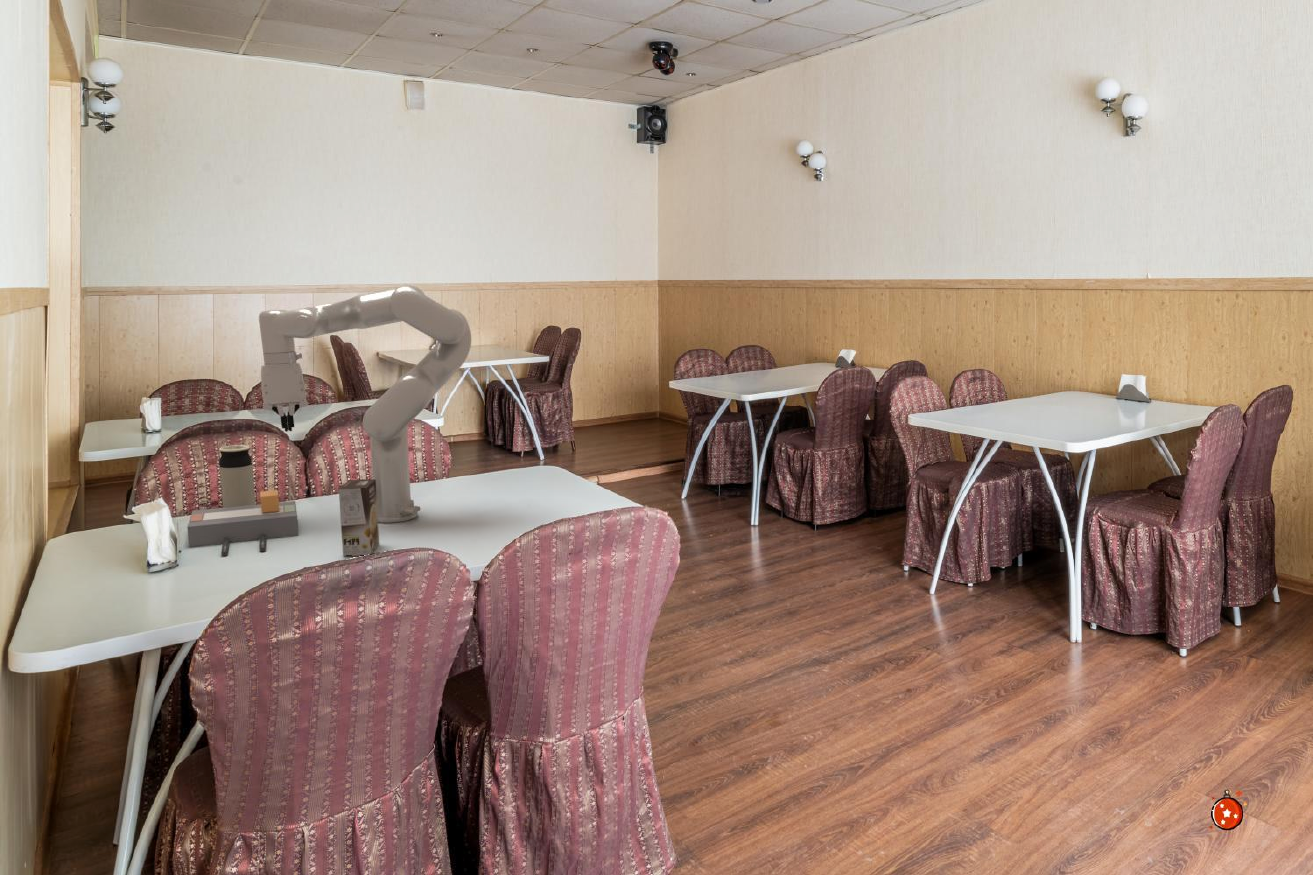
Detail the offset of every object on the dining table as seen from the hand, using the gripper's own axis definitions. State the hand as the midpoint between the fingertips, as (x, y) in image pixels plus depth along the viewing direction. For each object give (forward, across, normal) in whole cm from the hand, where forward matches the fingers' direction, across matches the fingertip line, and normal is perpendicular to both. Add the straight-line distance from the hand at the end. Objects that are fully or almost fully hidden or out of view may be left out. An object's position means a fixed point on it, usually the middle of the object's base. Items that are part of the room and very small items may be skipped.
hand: (288, 430), depth 225 cm
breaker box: (+24, +13, +11) cm, 29 cm away
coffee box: (+25, -11, +34) cm, 43 cm away
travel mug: (+24, +14, -17) cm, 32 cm away
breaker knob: (+18, +7, +6) cm, 20 cm away
